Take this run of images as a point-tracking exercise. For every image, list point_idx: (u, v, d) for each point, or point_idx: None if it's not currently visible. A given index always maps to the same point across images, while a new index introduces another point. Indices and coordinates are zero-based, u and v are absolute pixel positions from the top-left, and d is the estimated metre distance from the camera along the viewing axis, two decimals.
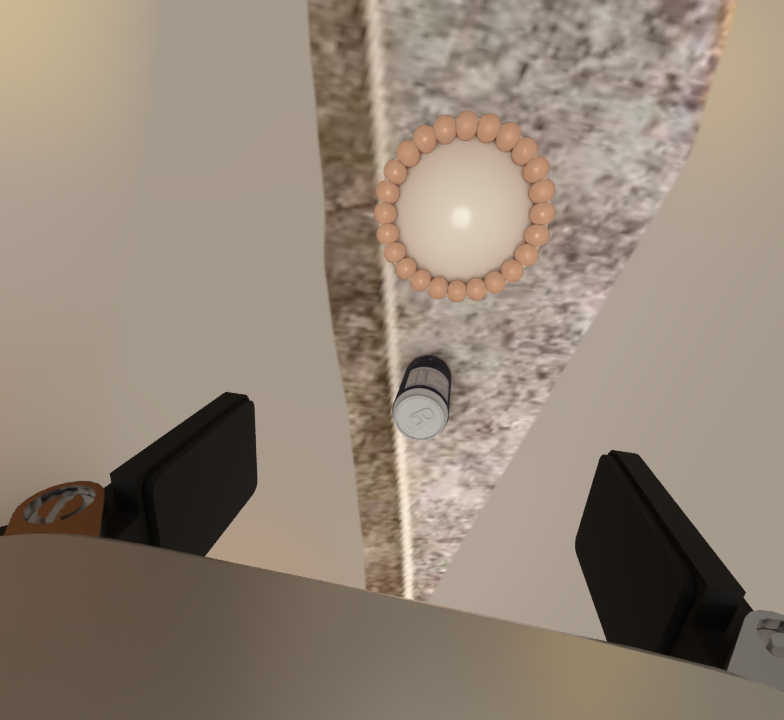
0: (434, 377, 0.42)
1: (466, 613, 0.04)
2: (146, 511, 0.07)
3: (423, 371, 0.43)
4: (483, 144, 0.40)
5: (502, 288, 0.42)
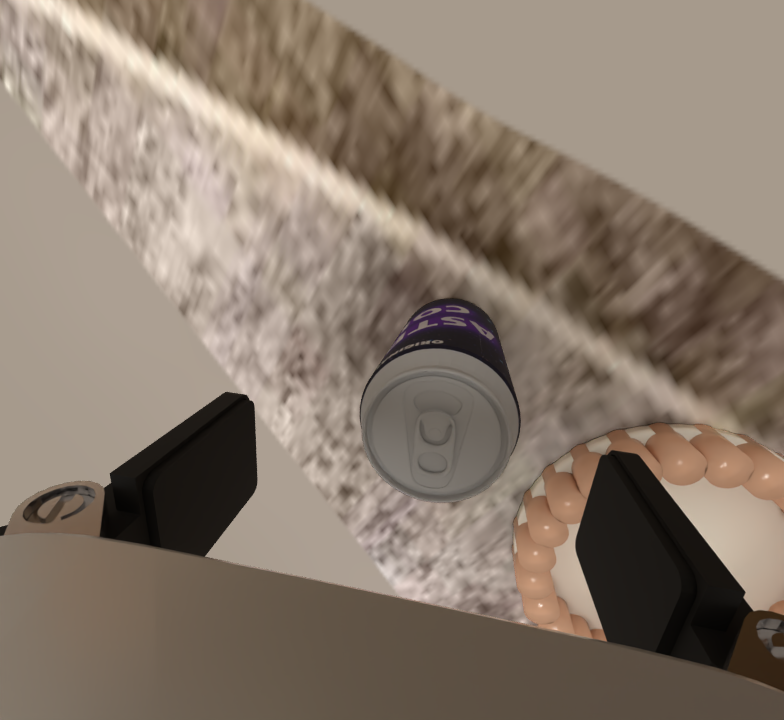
0: None
1: (466, 613, 0.04)
2: (146, 511, 0.07)
3: None
4: None
5: (521, 561, 0.24)
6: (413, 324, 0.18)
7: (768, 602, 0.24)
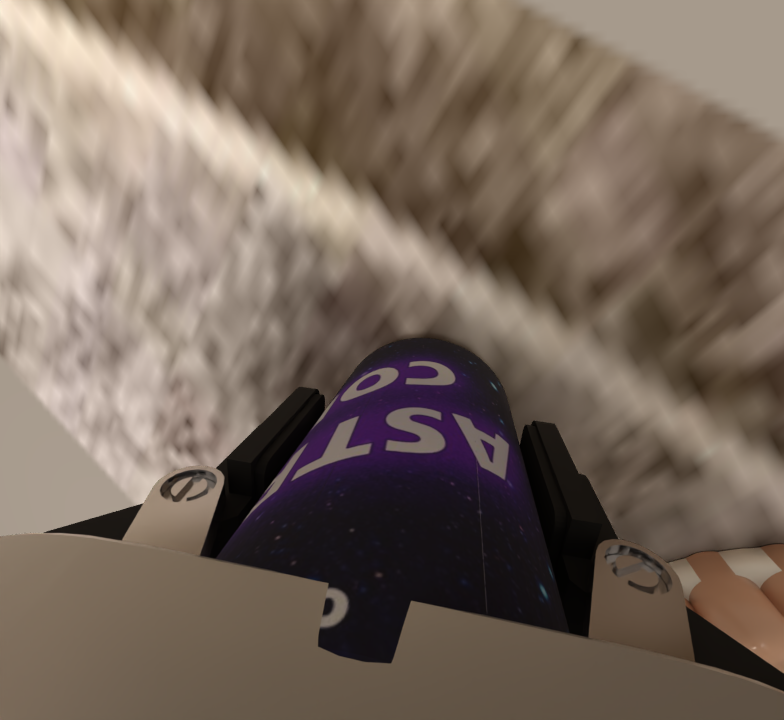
0: None
1: (466, 613, 0.04)
2: (256, 493, 0.08)
3: None
4: None
5: None
6: (330, 420, 0.08)
7: None
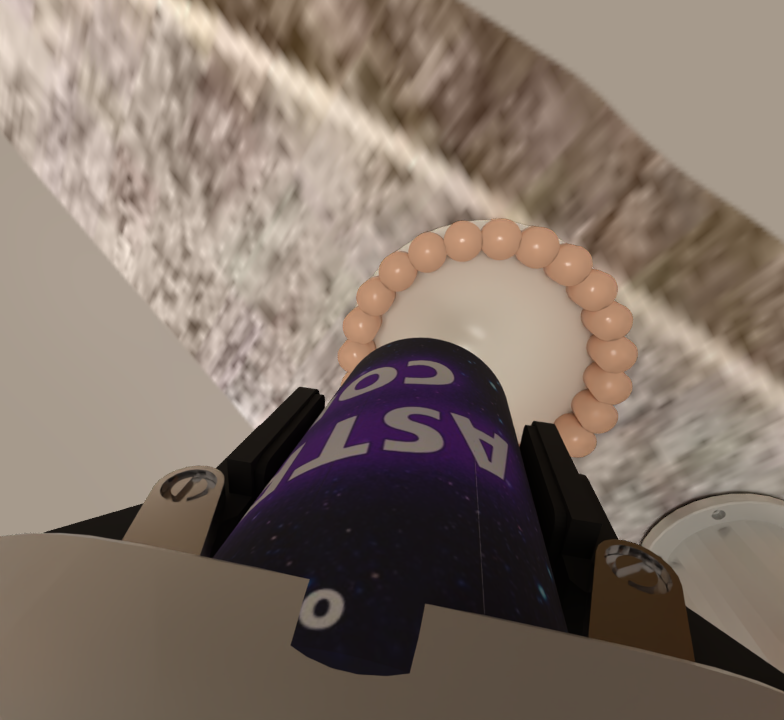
0: None
1: (466, 613, 0.04)
2: (257, 493, 0.08)
3: None
4: None
5: (341, 362, 0.26)
6: (328, 419, 0.08)
7: (570, 394, 0.26)
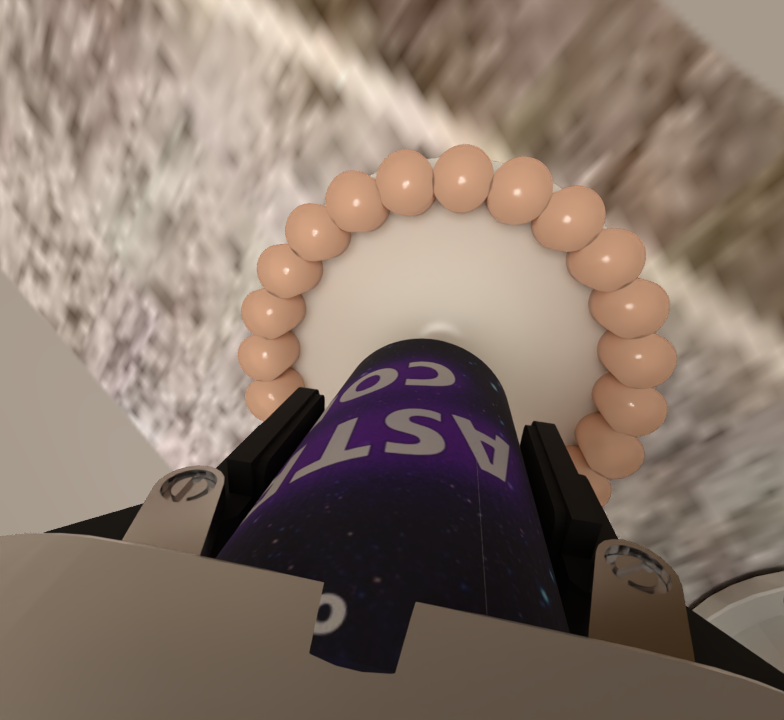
0: None
1: (466, 613, 0.04)
2: (256, 493, 0.08)
3: None
4: None
5: (243, 364, 0.18)
6: (329, 421, 0.08)
7: (573, 418, 0.18)
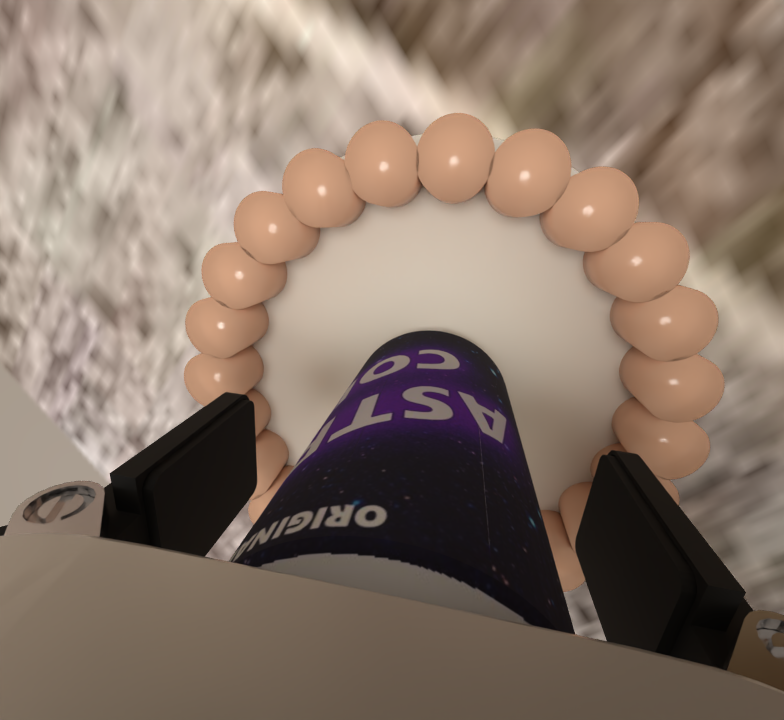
0: None
1: (466, 613, 0.04)
2: (146, 511, 0.07)
3: None
4: None
5: (191, 388, 0.15)
6: (353, 398, 0.09)
7: (588, 451, 0.15)
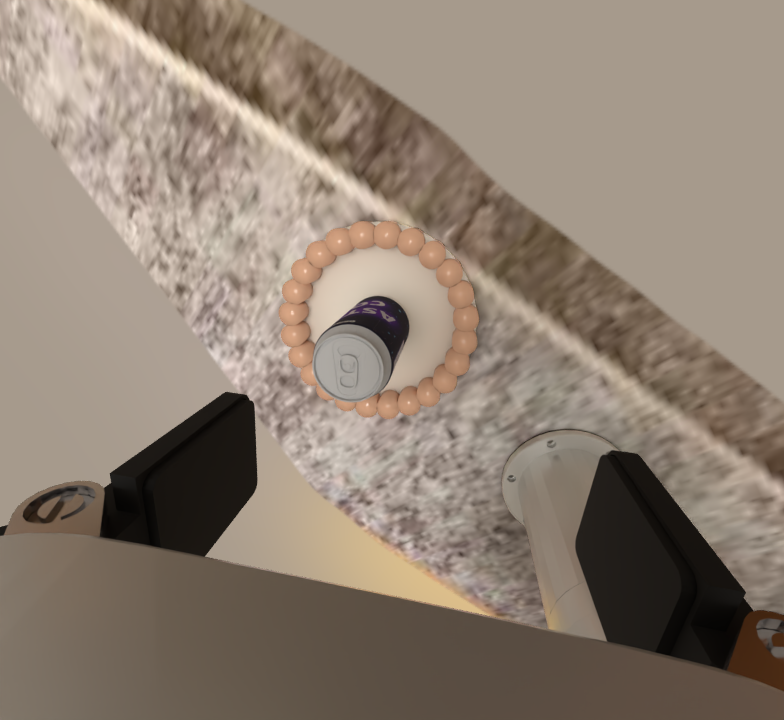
0: None
1: (466, 613, 0.04)
2: (146, 511, 0.07)
3: None
4: (421, 378, 0.38)
5: (281, 316, 0.36)
6: (348, 311, 0.31)
7: (444, 349, 0.37)
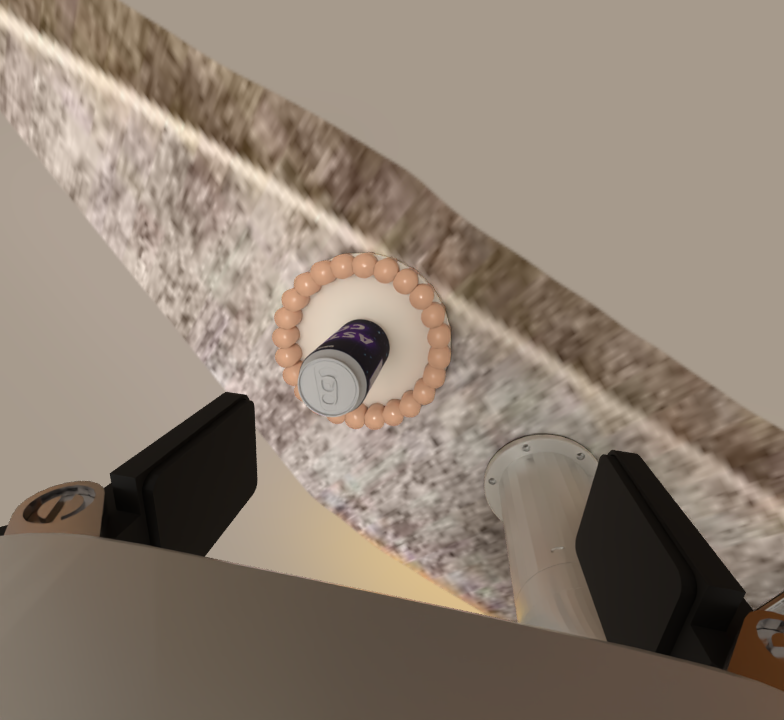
0: None
1: (466, 613, 0.04)
2: (146, 511, 0.07)
3: None
4: (404, 391, 0.42)
5: (274, 341, 0.40)
6: (331, 336, 0.35)
7: (423, 364, 0.41)
